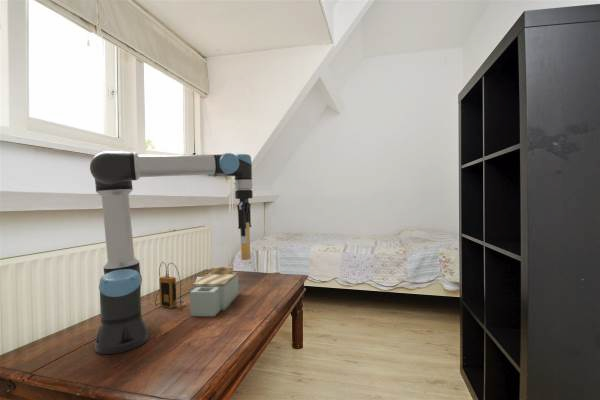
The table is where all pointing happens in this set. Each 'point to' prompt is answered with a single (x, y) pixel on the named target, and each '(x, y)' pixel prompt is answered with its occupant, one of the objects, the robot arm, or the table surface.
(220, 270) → the lid
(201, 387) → the table surface
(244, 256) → the long wooden block
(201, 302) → the toolbox
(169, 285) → the multimeter
